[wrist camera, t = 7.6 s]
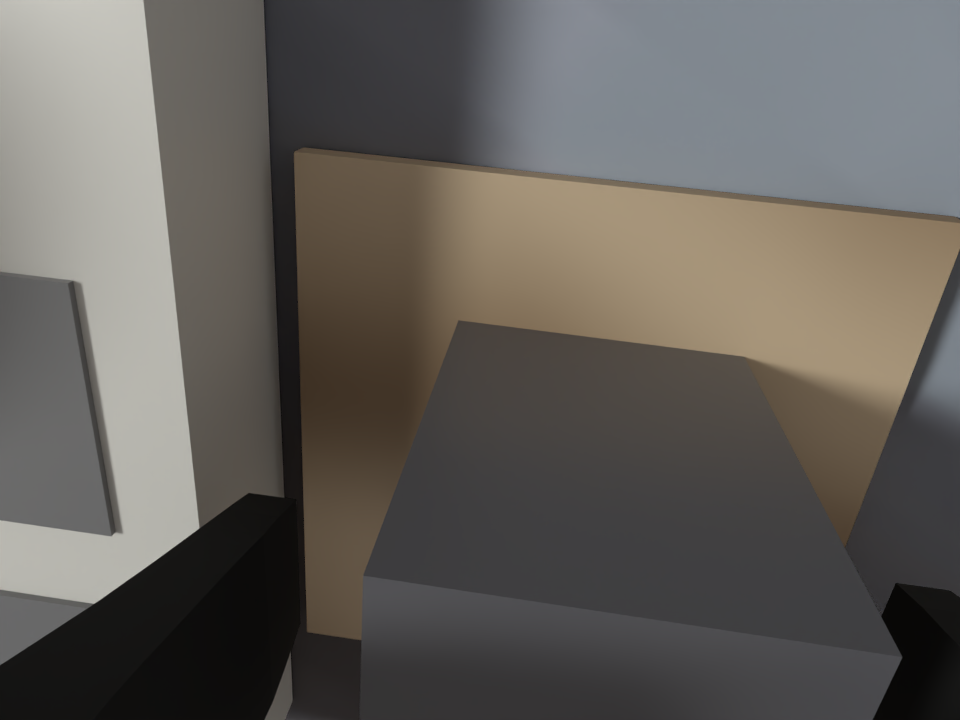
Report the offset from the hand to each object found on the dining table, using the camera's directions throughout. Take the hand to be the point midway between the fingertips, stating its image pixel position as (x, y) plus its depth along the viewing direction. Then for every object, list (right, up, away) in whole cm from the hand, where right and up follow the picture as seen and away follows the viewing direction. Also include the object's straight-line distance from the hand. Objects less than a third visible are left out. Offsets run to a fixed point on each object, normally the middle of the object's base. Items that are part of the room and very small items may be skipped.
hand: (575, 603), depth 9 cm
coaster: (0, +1, +3) cm, 3 cm away
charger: (0, +1, +3) cm, 3 cm away
